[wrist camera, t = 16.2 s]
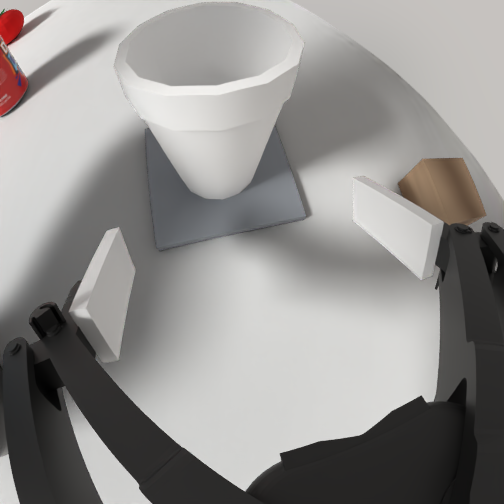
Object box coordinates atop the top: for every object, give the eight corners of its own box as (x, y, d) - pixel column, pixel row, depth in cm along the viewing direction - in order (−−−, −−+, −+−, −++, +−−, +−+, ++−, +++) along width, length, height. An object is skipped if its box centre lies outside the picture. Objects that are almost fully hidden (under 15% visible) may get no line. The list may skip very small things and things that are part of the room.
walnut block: (417, 241, 24) (449, 224, 19) (397, 184, 25) (422, 158, 21) (456, 231, 25) (486, 215, 20) (436, 180, 26) (462, 158, 21)
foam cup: (217, 109, 25) (212, -8, 13) (295, 163, 24) (337, 41, 11) (141, 173, 23) (84, 59, 10) (218, 241, 22) (200, 133, 9)
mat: (159, 250, 22) (156, 247, 21) (146, 133, 25) (144, 129, 24) (304, 219, 24) (306, 216, 23) (266, 111, 26) (267, 106, 26)
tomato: (31, 21, 34) (19, -4, 25) (27, 35, 32) (12, 6, 23) (-2, 44, 33) (-16, 20, 23) (-9, 61, 30) (-25, 35, 21)
